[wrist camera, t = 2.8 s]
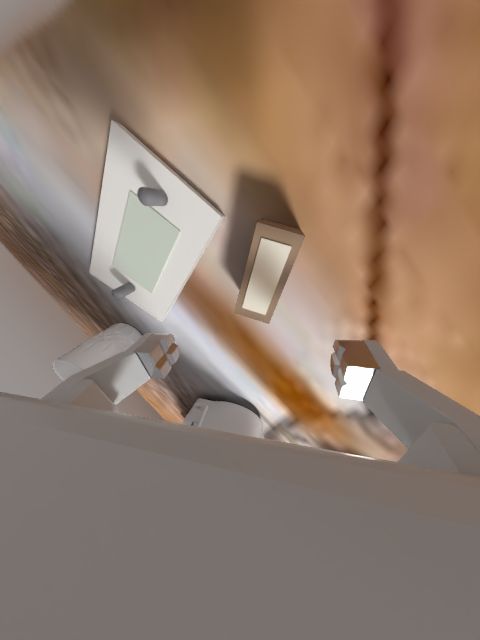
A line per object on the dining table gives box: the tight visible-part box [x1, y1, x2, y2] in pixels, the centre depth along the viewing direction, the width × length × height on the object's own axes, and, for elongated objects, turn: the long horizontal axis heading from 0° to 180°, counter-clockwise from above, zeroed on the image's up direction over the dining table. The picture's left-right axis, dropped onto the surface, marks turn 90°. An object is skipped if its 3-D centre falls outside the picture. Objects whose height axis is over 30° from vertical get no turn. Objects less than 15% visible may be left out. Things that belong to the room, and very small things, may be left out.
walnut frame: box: [234, 219, 305, 324], centre depth 18 cm, size 9×4×5 cm, turn 167°
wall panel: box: [89, 120, 225, 322], centre depth 21 cm, size 18×12×4 cm, turn 143°
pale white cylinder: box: [52, 323, 142, 381], centre depth 29 cm, size 8×8×10 cm
